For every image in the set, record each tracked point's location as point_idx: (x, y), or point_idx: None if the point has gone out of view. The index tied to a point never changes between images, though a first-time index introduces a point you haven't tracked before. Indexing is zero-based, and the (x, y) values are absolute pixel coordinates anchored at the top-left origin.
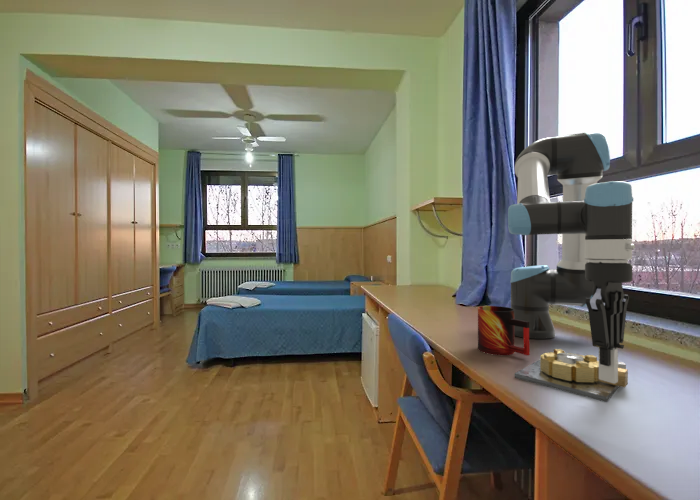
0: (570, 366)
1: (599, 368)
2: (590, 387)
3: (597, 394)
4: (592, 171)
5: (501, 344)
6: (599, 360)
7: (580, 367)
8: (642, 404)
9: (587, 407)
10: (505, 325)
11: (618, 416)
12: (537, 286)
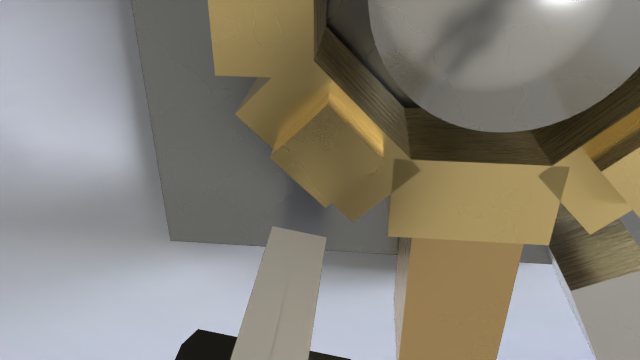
0: (225, 66)
1: (254, 284)
2: (258, 153)
3: (166, 203)
4: None
5: None
6: (239, 335)
7: (271, 139)
8: None
9: (25, 170)
10: None
11: (56, 277)
12: None
